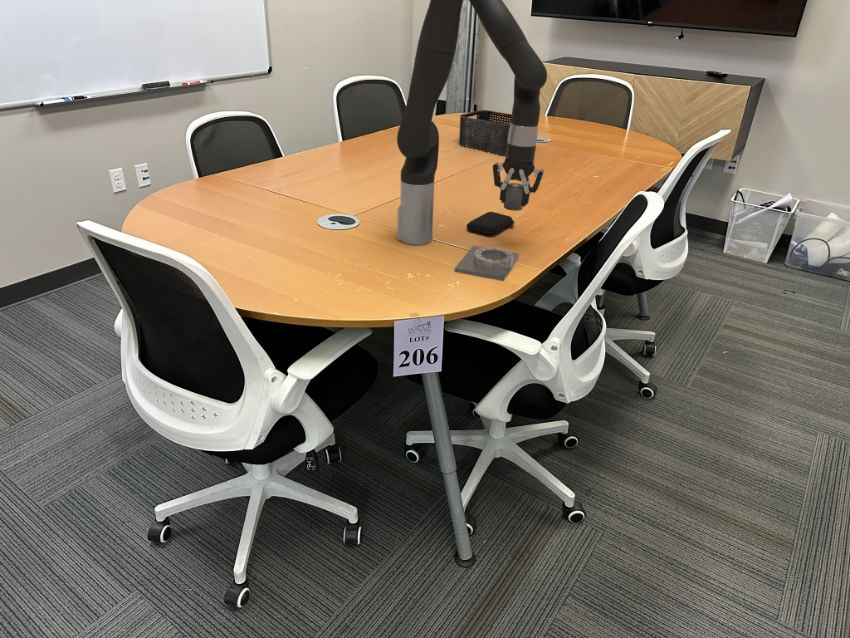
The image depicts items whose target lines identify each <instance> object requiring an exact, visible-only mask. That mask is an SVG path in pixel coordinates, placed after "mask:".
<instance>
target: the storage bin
mask: <svg viewBox="0 0 850 638" xmlns="http://www.w3.org/2000/svg"><path fill="white" fill-rule="evenodd" d="M475 116H476V117H475ZM473 117H475V118H473ZM511 117H512V113H506V112H499V111H494V110H484V109H482V110H475V111H472V112H467V113H463V114H460V115H459V119H460V120H459V140H458V141H459V142H458V146H459V145H461V146H460V147H462V146H465V147H464V148H466V147H469V148H468V149H471V148H473V149H472V150H475V149H478V150H477V151H479V150H481V151H480V152H483V151H486V152H485V153H488V152H490V153H489V154H493V153H495V154H494V155H497V154H499V155H498V156H501V155H502V156H503V157H506V149H507V141H508V133H509V128H510V124H511ZM466 145H467V146H466Z"/></svg>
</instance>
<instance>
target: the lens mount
mask: <svg viewBox="0 0 850 638" xmlns="http://www.w3.org/2000/svg"><path fill="white" fill-rule="evenodd" d="M519 257H520V253H517V252H511V251H510V250H508V249H506V248H502V247H497V246H496V247H495V246H485V247H483V246H477V245H473V246H472V247H471V248H470V249H469V250H468V251H467V252H466V253H465V255H464V256H463V257H462V259H461V260H460V261H459V262H458V263H457V265H456V266H455V267H454V272H456V273H459V274H460V273H461V274H466V275H471V276H476V277H482V278H487V279H491V280H498V281H503V282H504V281H505V280H506V278H507V277H508V276H509V274H510V272H511V270H512V269H513V267H514V266H515V264H516V262H517V260H518V259H519Z"/></svg>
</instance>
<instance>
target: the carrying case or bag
mask: <svg viewBox="0 0 850 638" xmlns="http://www.w3.org/2000/svg"><path fill="white" fill-rule="evenodd" d="M514 224H515V221H514V220H513V217H512V216H509V215H506V214H502V213H499V212H494V211H488V212H486V213H483V214H481V215H479V216H477V217H476V218H474V219H472V220H471V221H469V222H468V223H467V224H466V229H467V230H468V232H472V233H474V234H478V235H483V236H486V237H493V236H495V235H497V234H499V233H500V232H502V231H504V230H506V229H507V228H509V227H511V228H512V227H513V226H514Z"/></svg>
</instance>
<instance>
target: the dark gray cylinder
mask: <svg viewBox="0 0 850 638" xmlns="http://www.w3.org/2000/svg"><path fill="white" fill-rule="evenodd" d="M524 193H525V191H524V187H523V185H522V183H517V182H511V183H510V182H509V183H508V184H507V186H506V192H505V200H504V203H503V208H504V209H506V210H508V211H513V212H518V211H521V210H523V209H524V207H523V206H522V202H523V194H524Z"/></svg>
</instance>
